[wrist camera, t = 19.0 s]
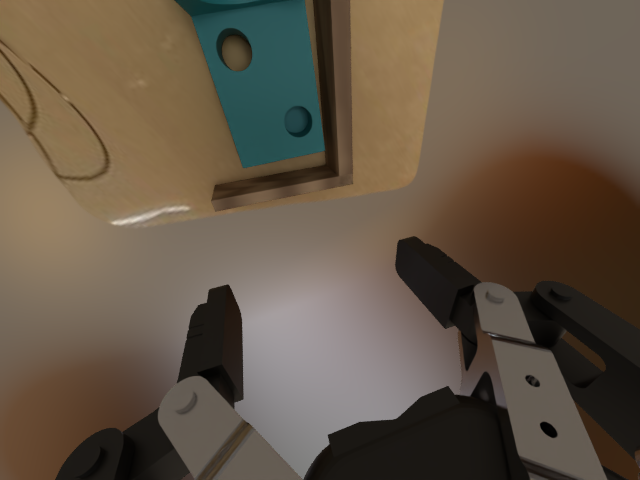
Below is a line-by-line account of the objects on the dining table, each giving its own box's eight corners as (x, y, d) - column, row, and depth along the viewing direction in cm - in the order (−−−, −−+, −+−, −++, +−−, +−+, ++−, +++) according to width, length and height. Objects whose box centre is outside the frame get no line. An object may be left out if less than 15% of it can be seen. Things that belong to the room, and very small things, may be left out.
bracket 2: (218, 194, 35) (215, 211, 30) (126, -65, 21) (93, -111, 16) (338, 172, 39) (352, 183, 34) (326, -63, 25) (348, -100, 20)
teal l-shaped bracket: (187, -20, 24) (144, -78, 15) (291, -35, 25) (305, -99, 16) (245, 158, 34) (239, 182, 26) (317, 143, 35) (335, 161, 26)
